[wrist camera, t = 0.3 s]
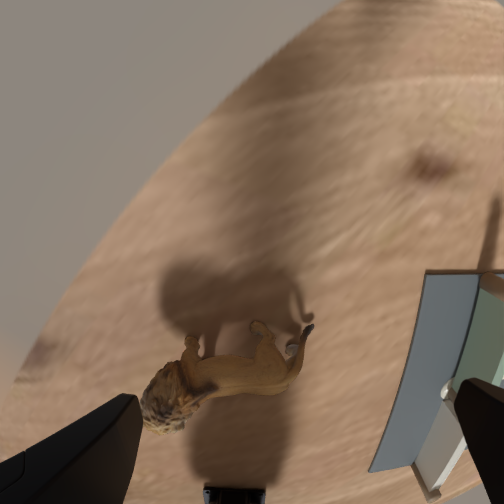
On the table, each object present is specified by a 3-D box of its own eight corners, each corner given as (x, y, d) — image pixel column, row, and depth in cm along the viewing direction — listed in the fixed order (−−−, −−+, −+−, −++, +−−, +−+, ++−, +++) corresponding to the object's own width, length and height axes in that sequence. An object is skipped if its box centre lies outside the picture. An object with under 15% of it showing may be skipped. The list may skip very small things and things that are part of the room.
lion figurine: (175, 389, 24) (153, 453, 17) (149, 345, 23) (115, 405, 16) (321, 344, 23) (343, 408, 15) (302, 293, 22) (323, 347, 15)
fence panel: (458, 396, 23) (483, 429, 18) (445, 399, 23) (470, 433, 18) (494, 271, 20) (535, 292, 15) (481, 271, 20) (522, 293, 15)
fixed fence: (420, 464, 26) (437, 500, 21) (408, 467, 26) (425, 504, 21) (452, 396, 24) (480, 434, 18) (439, 399, 24) (467, 438, 18)
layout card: (501, 434, 26) (503, 435, 26) (368, 471, 26) (368, 473, 26) (563, 271, 21) (565, 272, 21) (424, 274, 21) (427, 275, 21)
